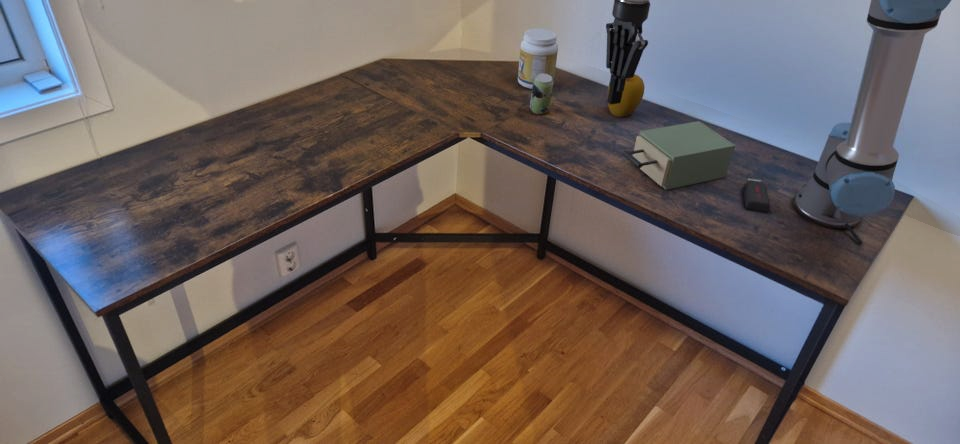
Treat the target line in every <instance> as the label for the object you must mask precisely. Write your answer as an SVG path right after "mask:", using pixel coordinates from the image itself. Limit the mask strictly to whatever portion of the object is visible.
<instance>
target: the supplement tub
mask: <svg viewBox="0 0 960 444" xmlns="http://www.w3.org/2000/svg"><path fill="white" fill-rule="evenodd" d="M557 36H558V35H557V33H556V32H554V31H553V30H550V29H546V28H530V29H529V28H528V29H526V30H525V31H524V35H523V40H522V41H521V43H520V48H519V57H518V58H519V59H518V69H517V70H518V72H517V82H518V84H519V85H521V86H522V87H524V88H527V89H531V90H532V87H533V80H534V78H535V77H536V76H537V75H538V74H541V73H544V74H548V75H550V76H551V77H552V80H553V84H554V83H555V74H556V68H557V60H558V54H559V53H558V52H559V45H558V43H557V40H558V39H557V38H558V37H557Z"/></svg>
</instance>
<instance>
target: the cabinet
mask: <svg viewBox="0 0 960 444" xmlns="http://www.w3.org/2000/svg"><path fill="white" fill-rule="evenodd" d="M640 135H641V136H642V137H643V138H645V139H647V140H648V141H649V142H651V143H652V144H653V145H655V146H656V147H657V148H658V149H660V150H661V151H662V152H664V153H665V154H666V155H667V156H669V157H670V158H671V164H670V168H669V171H668V175H667V179H666V183H665V186H661V188H663V189H664V190H665V191H667V190H668V191H669V190H673V189H676V188H681V187H686V186H690V185H695V184H699V183H704V182H709V181H714V180H718V179H723V178H726V177H727V174H728V170H729V168H730V165H731V161H732V158H733V154H734V152H735V148H736V144H734V143H733V142H731V141H730V140H728V139H727V138H725V137H723V136H722V135H720V134H719V133H718V132H716V131H715V130H713V129H712V128H710V127H709V126H707V125H706V124H705V123H703V122H701V121H699V120H698V121H692V122H691V121H690V122H685V123H680V124H674V125H667V126H662V127H656V128H651V129H645V130H640V131H639V134H638V136H640Z"/></svg>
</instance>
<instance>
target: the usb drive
mask: <svg viewBox="0 0 960 444" xmlns="http://www.w3.org/2000/svg"><path fill="white" fill-rule="evenodd" d="M742 192H743V198H744V204H745V205H744V206H745V209H746V210H751V211H759V212H764V213H769V211H770V207H771V201H770V197H769V193H768V189H767V186H766V185H765V184H764V182H763V181H762V180H760V179H754V178H747V181H746V182H745V184H744V186H743V190H742Z"/></svg>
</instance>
